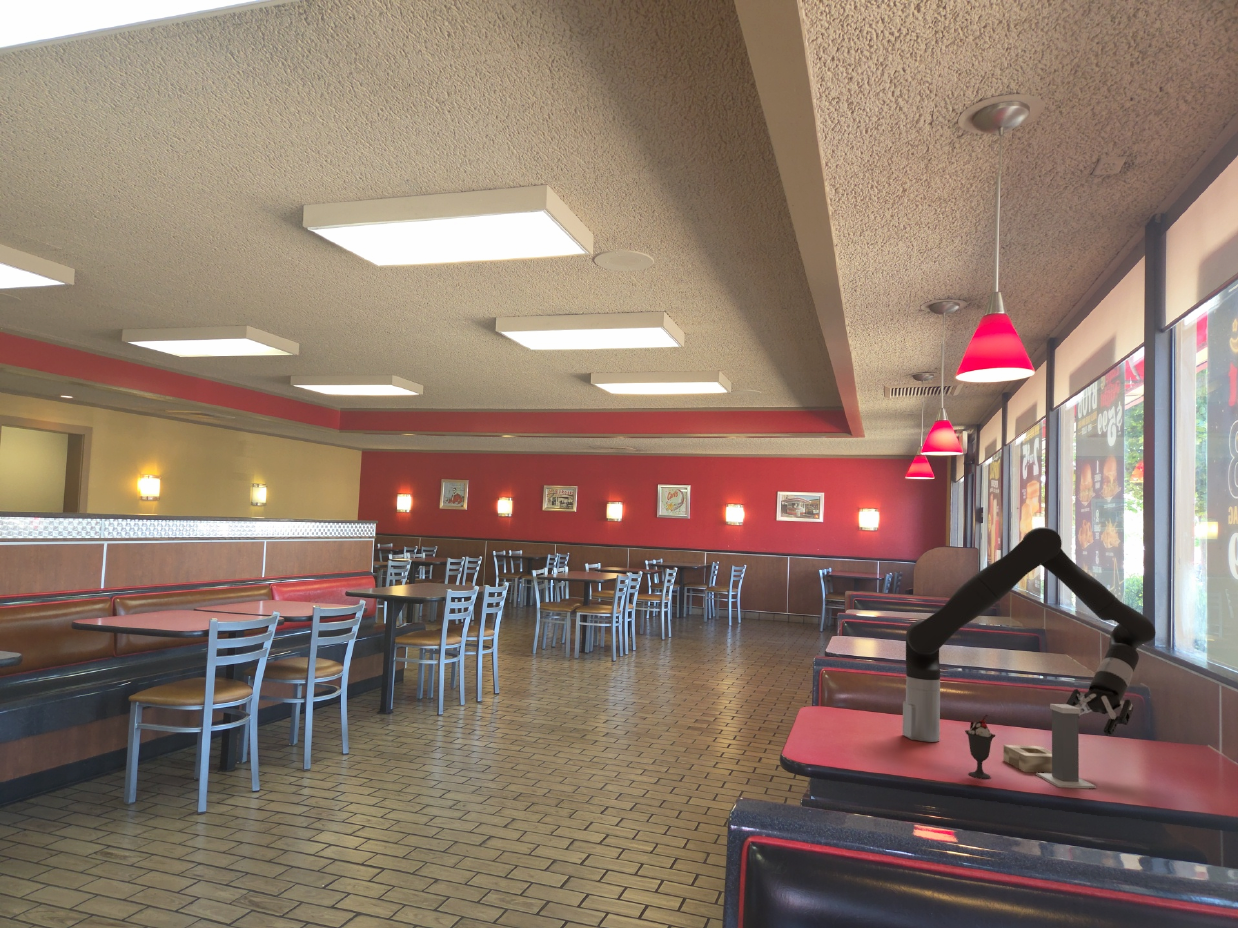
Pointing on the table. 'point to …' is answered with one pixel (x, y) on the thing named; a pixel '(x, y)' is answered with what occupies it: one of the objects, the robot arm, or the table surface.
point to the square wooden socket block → (1029, 758)
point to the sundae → (979, 745)
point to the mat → (1060, 783)
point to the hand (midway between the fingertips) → (1088, 729)
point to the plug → (1065, 742)
